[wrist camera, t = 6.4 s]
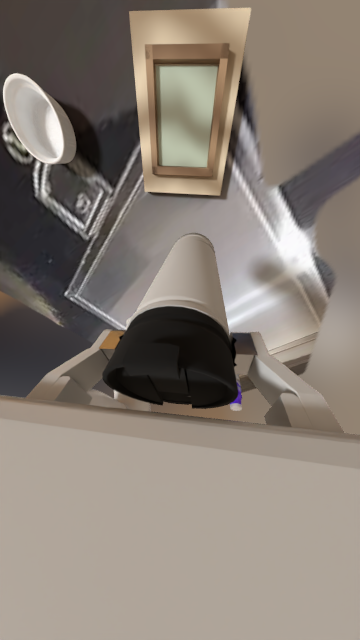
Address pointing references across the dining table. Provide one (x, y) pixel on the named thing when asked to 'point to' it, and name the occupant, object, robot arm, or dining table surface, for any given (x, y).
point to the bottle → (237, 403)
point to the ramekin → (38, 121)
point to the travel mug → (178, 335)
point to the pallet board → (187, 94)
